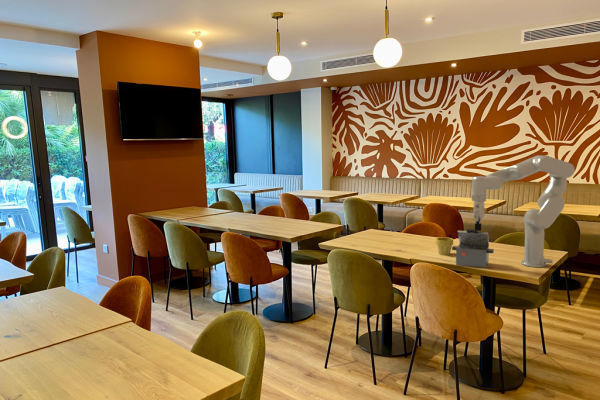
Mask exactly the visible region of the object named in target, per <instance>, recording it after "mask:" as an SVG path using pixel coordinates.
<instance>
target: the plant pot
mask: <svg viewBox="0 0 600 400" xmlns="http://www.w3.org/2000/svg"><path fill="white" fill-rule="evenodd" d="M435 244H436V245H437V250H438V254H439V255H440V256H449V255H451V250H452V247H453V246H454V239H453V238H451V237H444V236H443V237H442V236H441V237H436V239H435Z"/></svg>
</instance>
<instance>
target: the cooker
mask: <svg viewBox="0 0 600 400" xmlns="http://www.w3.org/2000/svg"><path fill="white" fill-rule="evenodd" d="M451 250H452V251H456V253H455V257H456V258H455V266H461V267H473V268H482V269H483V268H484V269H487V267H488V265H489V261H490V260H489V254H494V248H490V245H489V246H482V245H469V244H460V243H459V244H458V246H457V245H452V247H451Z"/></svg>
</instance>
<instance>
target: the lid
mask: <svg viewBox="0 0 600 400" xmlns="http://www.w3.org/2000/svg"><path fill="white" fill-rule="evenodd" d="M457 236H458V241H459V244H469V245H482V246H489V247H490V243H489V242H490V241H489V232H488V231H487V232H486V231H485V232H484V231H478V230H475V228H474V229H472V228H471V229H470V228H466V230H457Z"/></svg>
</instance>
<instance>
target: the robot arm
mask: <svg viewBox="0 0 600 400" xmlns="http://www.w3.org/2000/svg"><path fill="white" fill-rule="evenodd" d="M575 170H576V169H575V166H574V165H573V164H572V163H570V162H568V161H566V160H565V161H564V160H562V159H559V158H556V157H551V156H549V155H539V154H538V155H535V156H533V157H530V158H527V159H525V160H523V161H521V162H519V163H516V164H514V165H511V166H508V167H504V168H501V169H499V170H497V171H495V172H494V171H493V172H492V173H489V174H487V175H485V176H483V175H480V176H479V175H478V176H473V177H472V179H471V201H472V202H473V210H472V211H473V219H475V220H474V230H478V232H482V220H483V219H484V218H485V202H486V201H487V190H493V191H496V190H499V189H501V188H502V187H503V185H504V183H505V182H510V181H518V180H522V179H524V178H526V177H529V176H531V175H533V174H536V173H539V172H544V173H547V174H549V178H550V179H549V183H548V184H547V187H545V189H544V191H543V192H542V193H541V195H540V196H539V197H538V199H537V201H536V202H537V206H538V207H539V208H540V209H537V208H531V209H528V210H527V211H526V212H525V213H524V216H523V222H524V254H523V255H524V256H523V257H524V258H523V260H521V261H520V264H521V265H523V266H527V267H533V268H544V267H547V264H553V263H554V261H553V259H550V258H545V255H544V250H545V249H544V248H545V229H548V228H550V227H551V226H552V225H553V223H554V222H555V221H556V219H557V218H558V217H559V216H560V214H561V213H562V211H563V210H564V208H565V200H564V198H563V194H564V193H565V191H566V189H567V186H568V179H569V178H571V177H572V176H573V175H574V173H575Z"/></svg>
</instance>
